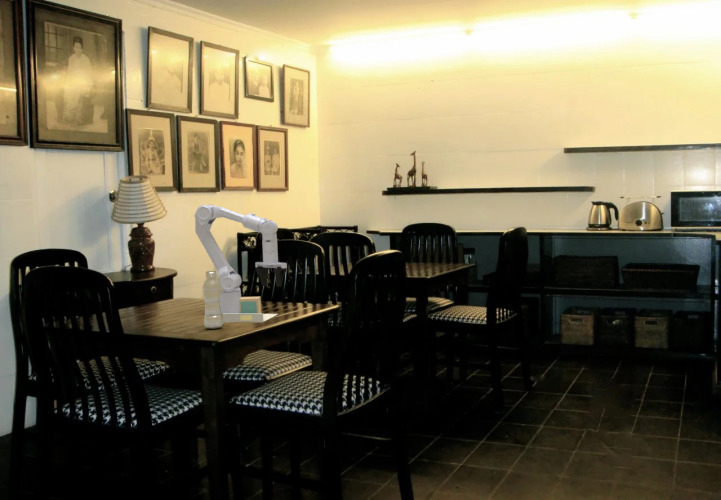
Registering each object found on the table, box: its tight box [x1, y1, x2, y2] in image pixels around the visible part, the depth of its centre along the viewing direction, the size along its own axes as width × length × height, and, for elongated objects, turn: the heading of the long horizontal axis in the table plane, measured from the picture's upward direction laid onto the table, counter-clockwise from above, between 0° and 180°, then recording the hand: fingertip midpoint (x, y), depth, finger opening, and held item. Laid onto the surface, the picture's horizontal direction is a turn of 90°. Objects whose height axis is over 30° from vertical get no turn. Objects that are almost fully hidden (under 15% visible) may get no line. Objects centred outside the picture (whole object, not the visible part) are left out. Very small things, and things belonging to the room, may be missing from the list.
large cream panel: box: [222, 312, 278, 323], centre depth 272 cm, size 15×18×4 cm
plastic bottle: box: [202, 270, 224, 330], centre depth 255 cm, size 6×7×20 cm
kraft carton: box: [239, 296, 262, 313], centre depth 268 cm, size 5×7×8 cm
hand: (271, 286), depth 286 cm, fingers open, 7 cm apart
